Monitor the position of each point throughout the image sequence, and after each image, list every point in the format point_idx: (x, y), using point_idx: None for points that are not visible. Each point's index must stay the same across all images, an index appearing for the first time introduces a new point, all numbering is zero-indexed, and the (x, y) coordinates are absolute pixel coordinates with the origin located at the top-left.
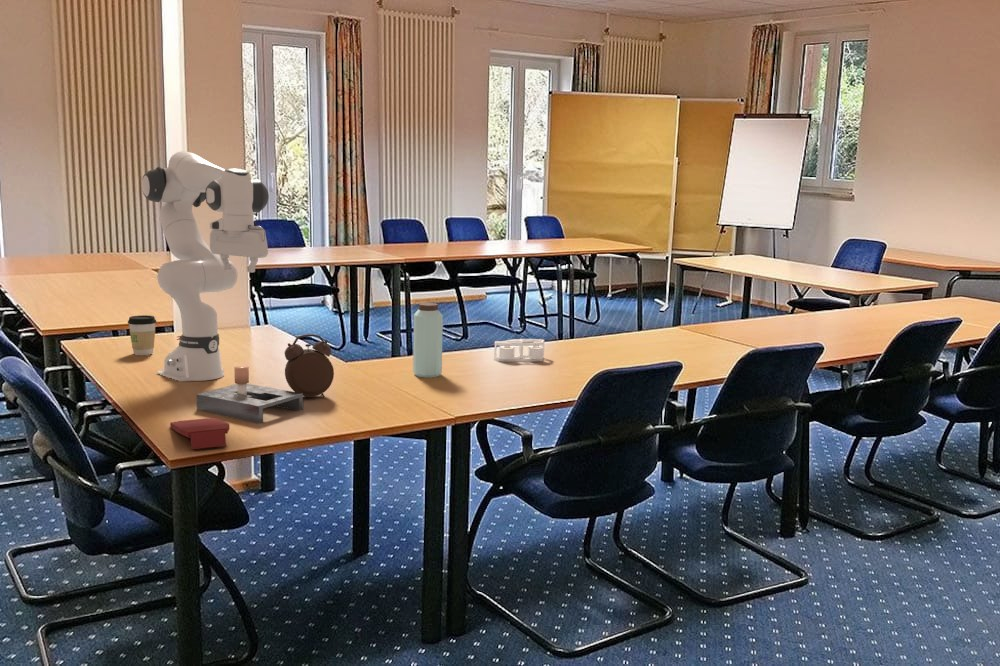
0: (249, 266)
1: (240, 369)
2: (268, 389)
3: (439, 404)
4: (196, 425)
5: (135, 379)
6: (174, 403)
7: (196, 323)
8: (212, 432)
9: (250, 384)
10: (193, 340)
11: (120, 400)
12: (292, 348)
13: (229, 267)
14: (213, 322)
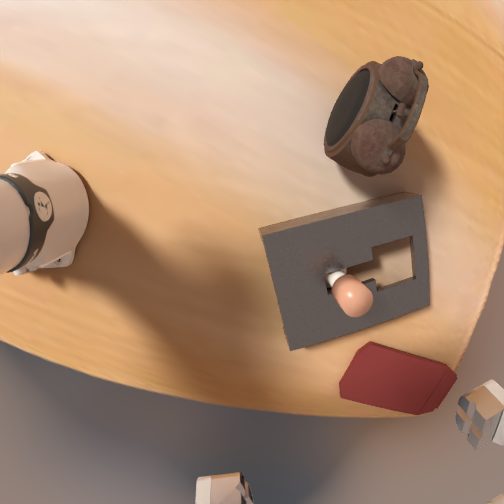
0: (495, 438)
1: (367, 310)
2: (355, 226)
3: (481, 31)
4: (415, 395)
5: (13, 302)
6: (209, 339)
7: (3, 265)
8: (449, 389)
9: (291, 230)
10: (28, 260)
11: (139, 386)
12: (397, 162)
13: (243, 494)
14: (1, 210)
